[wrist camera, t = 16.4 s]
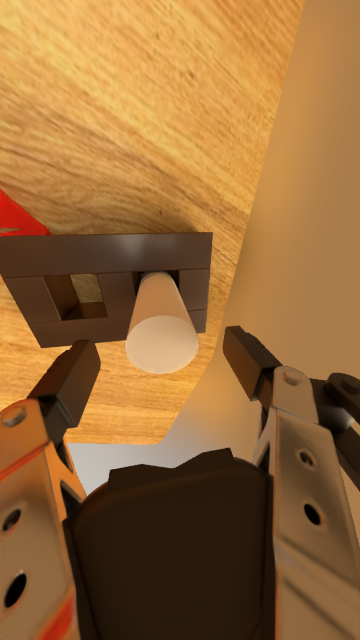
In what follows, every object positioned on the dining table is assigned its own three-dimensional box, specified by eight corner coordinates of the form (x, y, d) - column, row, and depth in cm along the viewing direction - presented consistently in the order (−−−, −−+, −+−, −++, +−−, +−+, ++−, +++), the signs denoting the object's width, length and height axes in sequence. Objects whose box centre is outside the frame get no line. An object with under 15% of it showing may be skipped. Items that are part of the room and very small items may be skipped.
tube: (171, 296, 24) (193, 373, 11) (141, 294, 23) (126, 375, 10) (173, 266, 22) (205, 316, 9) (141, 263, 21) (123, 313, 8)
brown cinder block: (21, 235, 18) (-22, 236, 13) (200, 232, 20) (213, 232, 16) (61, 327, 24) (41, 348, 19) (196, 315, 26) (205, 332, 22)
